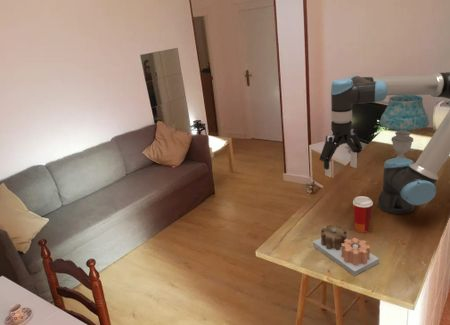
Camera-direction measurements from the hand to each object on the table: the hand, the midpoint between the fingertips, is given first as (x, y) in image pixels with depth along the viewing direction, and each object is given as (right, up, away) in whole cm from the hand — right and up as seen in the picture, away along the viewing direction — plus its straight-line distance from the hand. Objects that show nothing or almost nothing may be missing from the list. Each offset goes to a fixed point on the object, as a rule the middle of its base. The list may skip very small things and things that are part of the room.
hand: (341, 171), depth 139 cm
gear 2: (+1, -31, -12) cm, 34 cm away
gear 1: (-4, -28, -3) cm, 29 cm away
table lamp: (+54, +1, +58) cm, 79 cm away
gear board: (-1, -32, -7) cm, 32 cm away
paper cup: (+11, -25, +7) cm, 28 cm away
